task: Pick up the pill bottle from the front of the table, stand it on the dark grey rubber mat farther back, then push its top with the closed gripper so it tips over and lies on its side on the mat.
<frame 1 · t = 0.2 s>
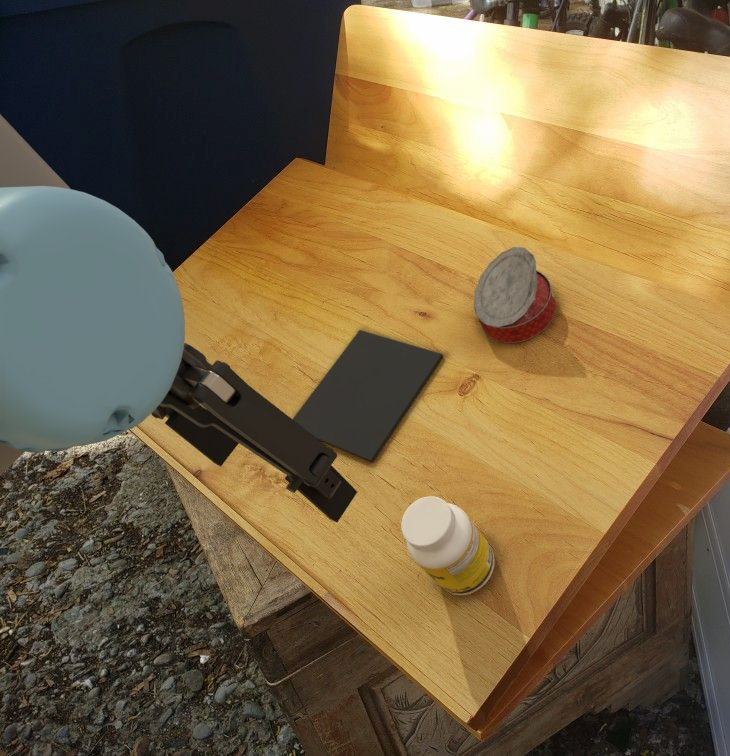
hand: (282, 477, 55), 20 cm above the table, tool pointing down, fingers open, 13 cm apart
canned food: (518, 314, 86), on the table
mat: (366, 392, 85), on the table
pill bottle: (466, 567, 67), on the table
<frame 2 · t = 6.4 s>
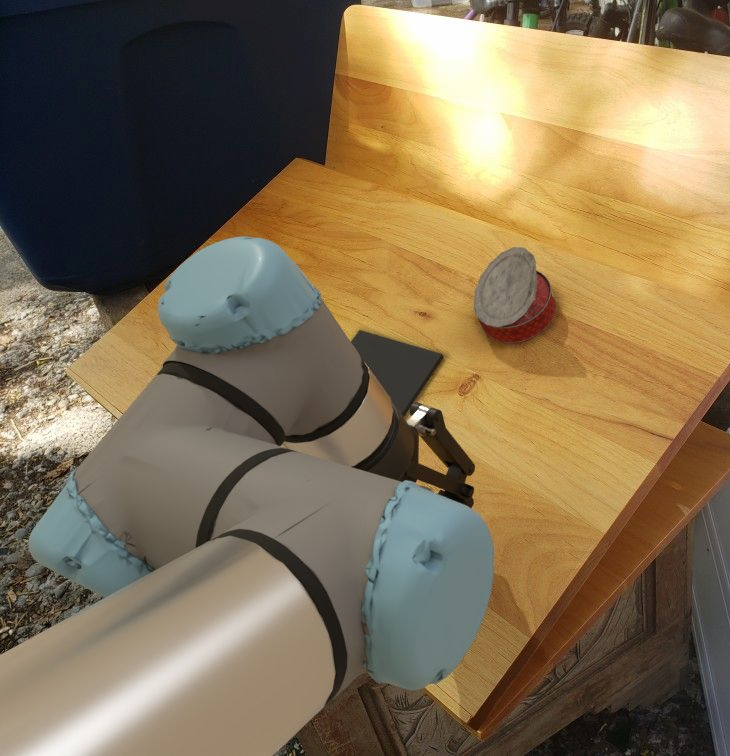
hand: (453, 559, 65), 3 cm above the table, tool pointing down, fingers closed on pill bottle, 6 cm apart
pill bottle: (455, 561, 65), point 3 cm above the table, touching gripper
everything else where it was.
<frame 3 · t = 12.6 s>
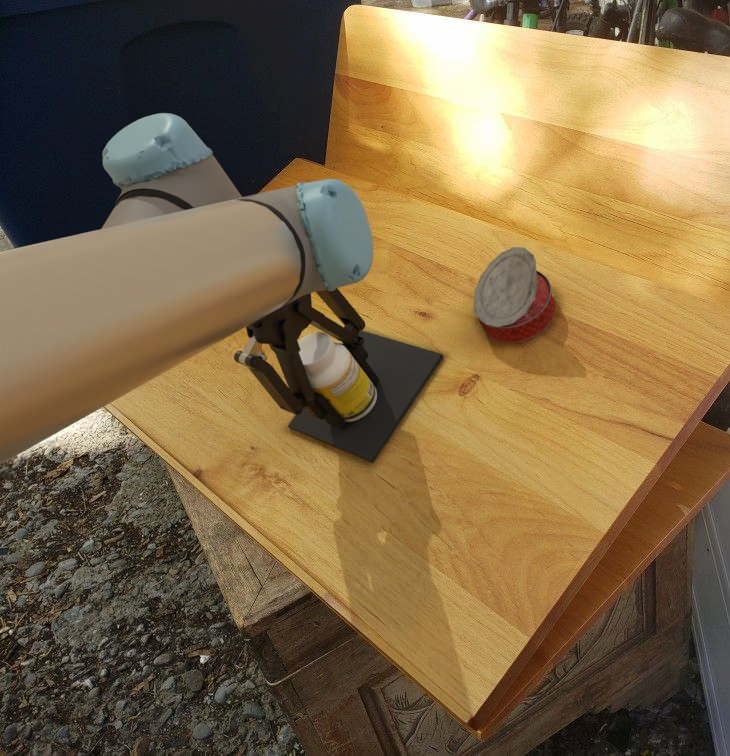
hand: (354, 401, 83), 1 cm above the table, tool pointing down, fingers closed on pill bottle, 6 cm apart
pill bottle: (356, 403, 84), resting on mat, touching gripper
everything else where it was.
when the fingers open (2 cm above the table, at t = 18.2 s): pill bottle stays where it is, resting on mat.
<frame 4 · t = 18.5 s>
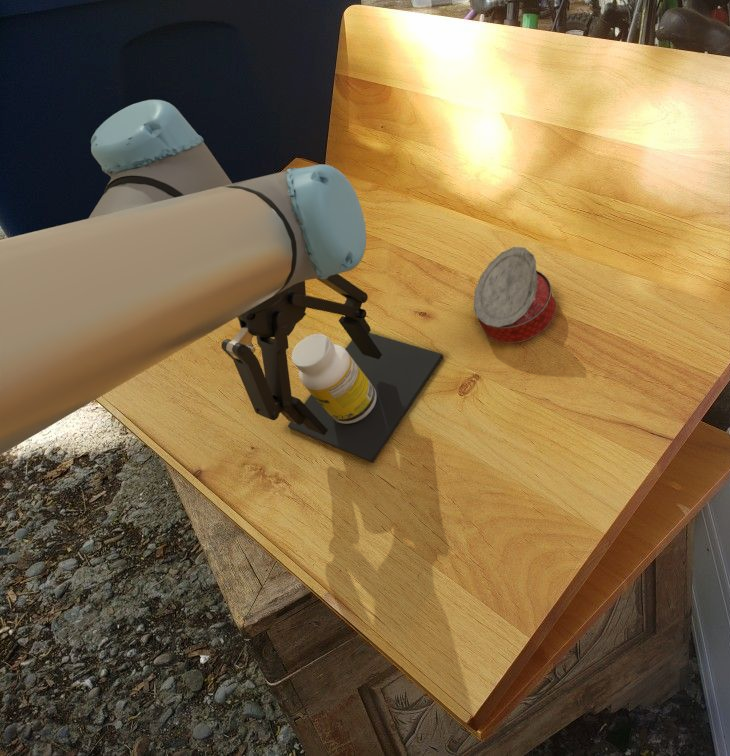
hand: (346, 391, 82), 3 cm above the table, tool pointing down, fingers open, 11 cm apart
pill bottle: (355, 405, 84), resting on mat
everything else where it was.
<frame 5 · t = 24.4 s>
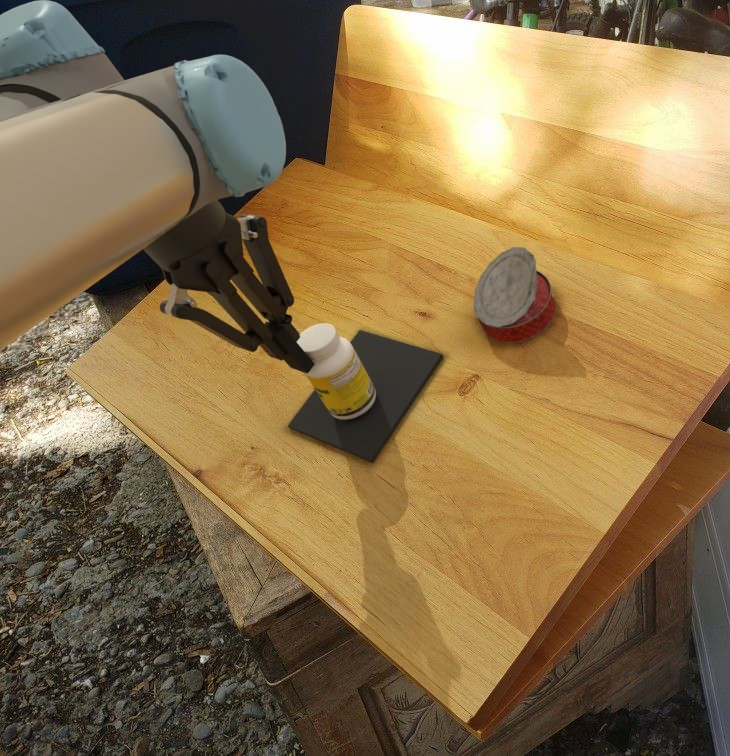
hand: (302, 365, 75), 11 cm above the table, tool pointing down, fingers closed
pill bottle: (354, 403, 83), point 1 cm above the table, touching gripper, mat
everything else where it was.
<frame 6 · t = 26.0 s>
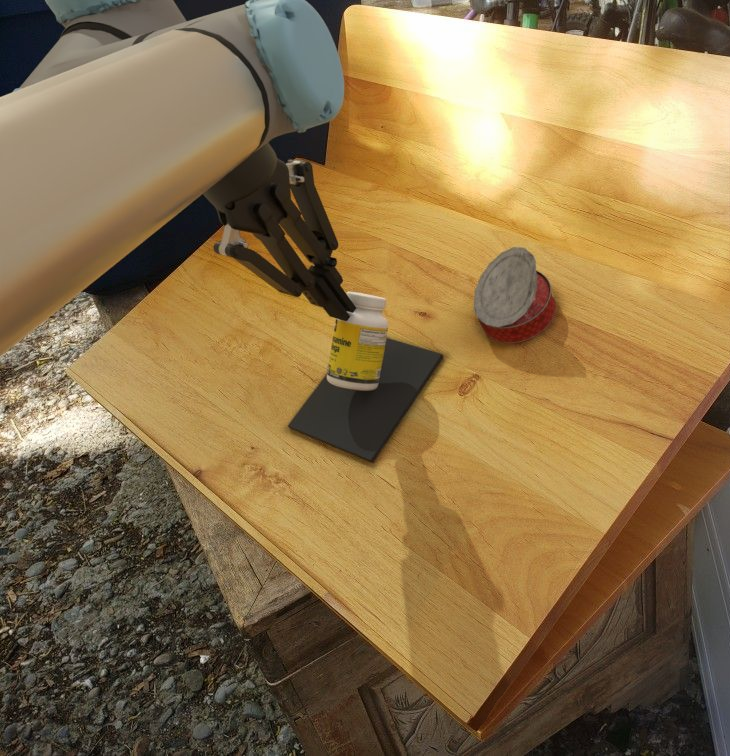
hand: (342, 312, 78), 11 cm above the table, tool pointing down, fingers closed
pill bottle: (351, 387, 82), point 3 cm above the table, touching gripper, mat
everything else where it was.
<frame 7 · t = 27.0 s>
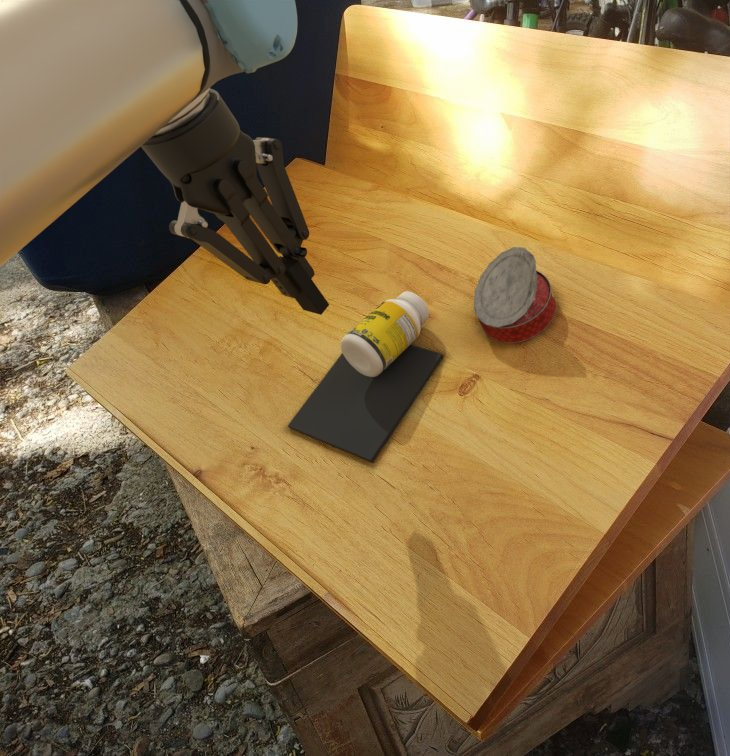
hand: (316, 307, 72), 16 cm above the table, tool pointing down, fingers closed
pill bottle: (356, 360, 81), point 5 cm above the table, touching mat
everything else where it was.
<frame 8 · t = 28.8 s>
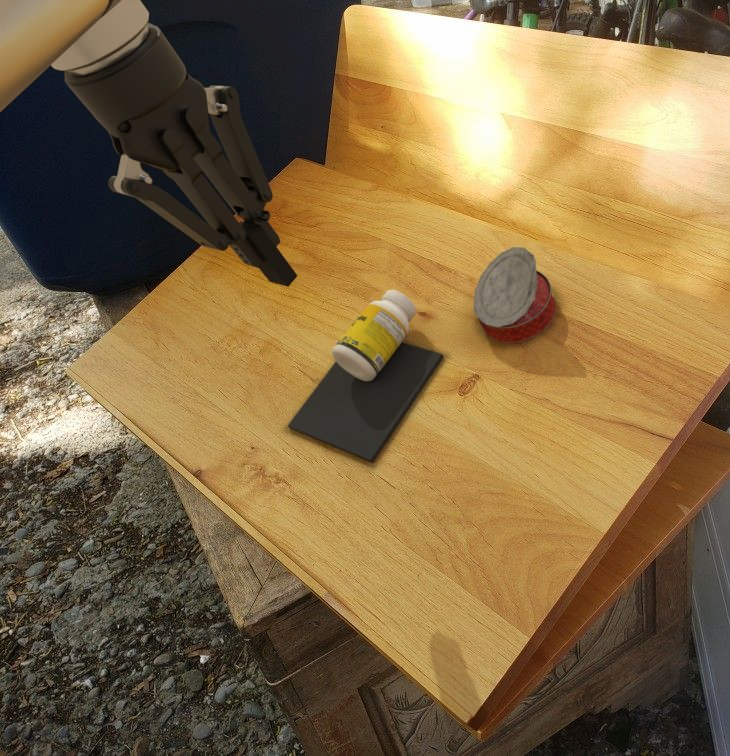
hand: (283, 278, 66), 22 cm above the table, tool pointing down, fingers closed
pill bottle: (349, 368, 83), point 4 cm above the table, touching mat
everything else where it was.
at the end: pill bottle tilted 90°; pill bottle inside the target area on the mat (1.5 cm from its centre), point 3.7 cm above the mat's base; pill bottle moved 29.5 cm from its start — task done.
